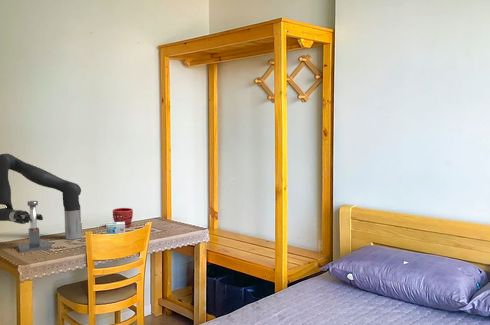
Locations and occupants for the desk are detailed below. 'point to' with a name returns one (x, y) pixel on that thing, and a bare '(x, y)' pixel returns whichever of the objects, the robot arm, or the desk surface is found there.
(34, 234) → the stand
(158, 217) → the desk surface
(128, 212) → the plant pot
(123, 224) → the light bulb box
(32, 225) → the jack column
